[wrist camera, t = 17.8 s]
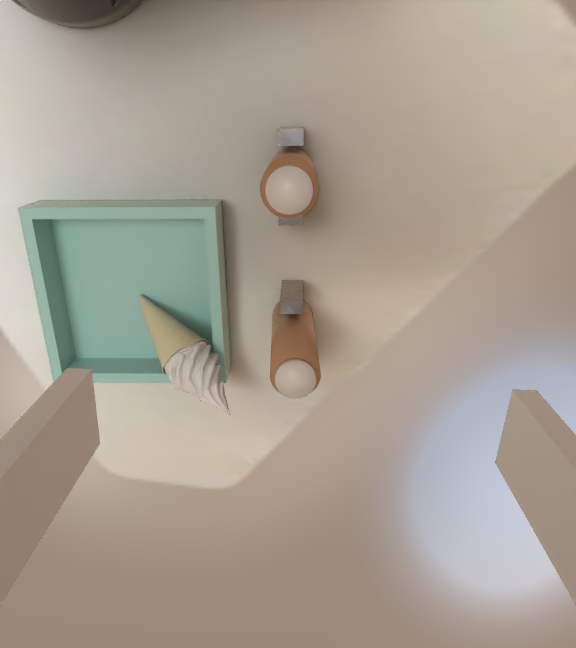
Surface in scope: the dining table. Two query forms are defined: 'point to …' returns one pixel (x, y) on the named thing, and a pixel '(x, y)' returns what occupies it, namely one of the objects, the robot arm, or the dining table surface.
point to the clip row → (291, 288)
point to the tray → (125, 280)
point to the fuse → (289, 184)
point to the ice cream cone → (184, 356)
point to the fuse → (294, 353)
